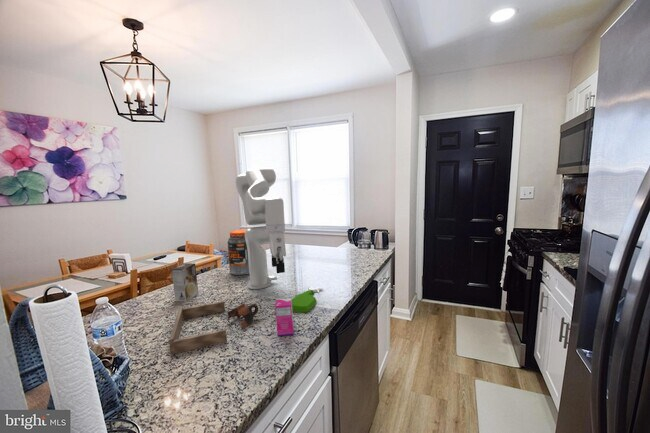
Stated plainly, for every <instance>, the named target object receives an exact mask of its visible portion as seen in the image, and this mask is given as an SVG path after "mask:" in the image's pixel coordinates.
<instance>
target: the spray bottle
mask: <svg viewBox="0 0 650 433" xmlns="http://www.w3.org/2000/svg"><path fill="white" fill-rule="evenodd" d="M320 291H324V288H323V287H308V290H305V291H304V292H301V293H299V294H297V295H296V296H294V298H291V299H292V311H293V313H296V312H297V313H308V312H310V311H311V309H313V307H314V306H315V305H316V304H317V299H316V297H315V296H314V295H315V293H318V294H320Z"/></svg>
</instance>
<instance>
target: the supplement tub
mask: <svg viewBox="0 0 650 433" xmlns="http://www.w3.org/2000/svg"><path fill="white" fill-rule="evenodd" d="M246 230H247V229H235V230H231V231H229V238H228V239H227V251H228V254H227V255H228V266H229V273H230V274H232V275H235V276H239V275H240V276H241V275H248V274H249V261H248V250H247V244H246V240H245V231H246Z"/></svg>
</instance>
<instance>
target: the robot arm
mask: <svg viewBox="0 0 650 433" xmlns="http://www.w3.org/2000/svg"><path fill="white" fill-rule="evenodd" d="M276 175H277V174H276V172H275V170H274V169H273V168H271V167H251V168H248V169H247V170H246V171H245V173H241V174H239V175H237V176H236V177H235V186H236V190H237V192H238V195H239V197H240V199H241V202H242V206H243V207H242V208H243V214H244V219H245V223H246V224H247V225H248V226H253V227H249V228H246V229H245V230H246V231H245V240H246V244H247V250H248V261H249V282H248V283H247V285H246V286H247V288H248V289H250V290H262V289H266V288H268V287H270V286H271V285H272V281H277V280H278V276H274V275H269V274H268V258H267V251H266V250H265V248H264V247H263V246H262V245H267V244H269V252H270V255H271V267H273V268H275V270H276V274H283V273H285V272H286V269H285V268H286V267H285V259H284V257H286V256H287V251H286V240H285V234H284V233H285V232H286V225H285V224H286V223H285V220H286V219H285V209H284V208H285V205H284V200H283V198H281V197H278V196H266V195H267V194H268V193H269V191H270V187H272V186H273V185H274V184H275V183H276V179H277V176H276ZM257 225H258V226H257ZM259 225H260V226H259ZM261 225H263V226H261Z"/></svg>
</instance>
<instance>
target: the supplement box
mask: <svg viewBox="0 0 650 433" xmlns="http://www.w3.org/2000/svg"><path fill="white" fill-rule="evenodd" d="M292 299H293V298H290V297H289V298H281V299H280V298H279V299H276V300H275V306H274V308H275V309H274V311H275V312H274V313H275V322H276V323H275V324H276V334H277V337H287V336H294V332H295V325H294V312H293V311H292Z"/></svg>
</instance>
